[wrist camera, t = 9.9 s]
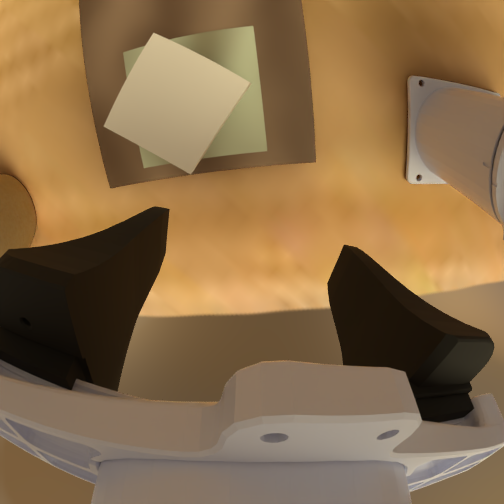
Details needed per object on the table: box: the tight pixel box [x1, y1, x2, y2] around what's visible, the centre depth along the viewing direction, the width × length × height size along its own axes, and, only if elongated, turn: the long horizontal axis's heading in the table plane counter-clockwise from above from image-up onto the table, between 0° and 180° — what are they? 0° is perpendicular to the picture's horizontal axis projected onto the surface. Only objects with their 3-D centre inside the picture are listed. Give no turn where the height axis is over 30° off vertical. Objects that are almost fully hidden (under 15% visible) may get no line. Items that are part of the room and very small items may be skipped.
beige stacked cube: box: [104, 33, 252, 174], centre depth 14 cm, size 5×5×5 cm
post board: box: [79, 0, 316, 188], centre depth 12 cm, size 14×22×5 cm, turn 6°
